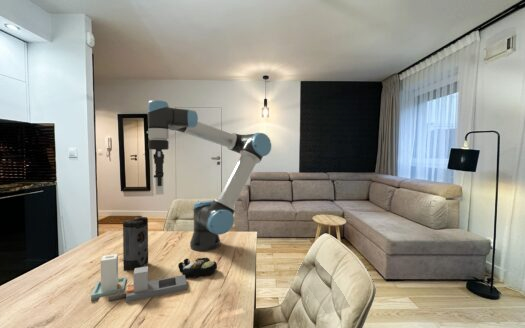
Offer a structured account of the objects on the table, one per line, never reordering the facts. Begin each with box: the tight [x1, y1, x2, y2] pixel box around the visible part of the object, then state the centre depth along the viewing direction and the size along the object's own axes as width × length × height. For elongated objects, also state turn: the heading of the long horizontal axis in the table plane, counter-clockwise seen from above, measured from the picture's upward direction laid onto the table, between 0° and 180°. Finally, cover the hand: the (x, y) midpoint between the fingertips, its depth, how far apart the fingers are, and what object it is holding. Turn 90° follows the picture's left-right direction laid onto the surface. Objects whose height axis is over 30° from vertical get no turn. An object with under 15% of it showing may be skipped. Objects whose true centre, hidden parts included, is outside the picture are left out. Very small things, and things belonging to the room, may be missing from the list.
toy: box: [177, 257, 218, 279], centre depth 94 cm, size 12×8×15 cm
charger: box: [100, 253, 119, 292], centre depth 82 cm, size 4×4×11 cm
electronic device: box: [122, 216, 149, 272], centre depth 100 cm, size 9×6×20 cm, turn 168°
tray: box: [90, 276, 127, 302], centre depth 82 cm, size 9×9×2 cm
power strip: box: [108, 265, 188, 304], centre depth 80 cm, size 23×7×9 cm, turn 114°
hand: (159, 192), depth 98 cm, fingers open, 13 cm apart
